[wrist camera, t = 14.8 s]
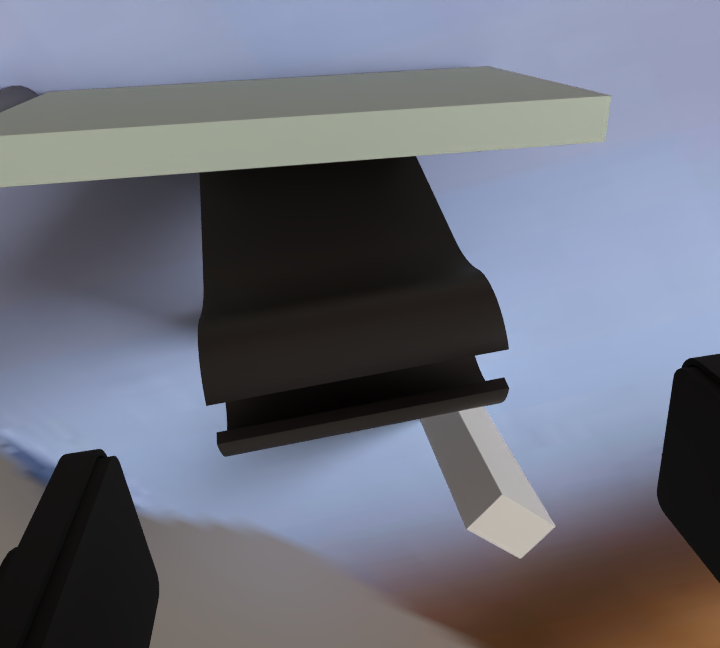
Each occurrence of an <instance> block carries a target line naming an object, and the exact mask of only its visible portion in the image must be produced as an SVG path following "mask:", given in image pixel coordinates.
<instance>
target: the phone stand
mask: <svg viewBox="0 0 720 648" xmlns="http://www.w3.org/2000/svg"><path fill="white" fill-rule="evenodd" d="M200 195H201V224H202V252H203V280H204V298H203V309H202V314H201V317H200V319H199V324H198V351H199V362H200V371H201V378H202V384H203V390H204V396H205V401H206V406H208V405H213V404H219V403H224V402H226V411H227V431H222V432H217V445H218V448H219V450H220V452H221V453H222V455H223V456H225V457H226V456H231V455H237V454H242V453H247V452H252V451H257V450H262V449H267V448H272V447H278V446H283V445H288V444H293V443H298V442H303V441H308V440H313V439H319V438H324V437H329V436H334V435H339V434H344V433H349V432H354V431H360V430H365V429H370V428H375V427H380V426H385V425H390V424H396V423H401V422H406V421H411V420H416V419H421V418H426V417H431V416H437V415H442V414H447V413H452V412H457V411H462V410H467V409H472V408H478V407H483V406H488V405H493V404H498V403H502V402H503V401H504V400H505V399H506V397H507V394H508V391H509V387H508V385H507V383H506V380H505V378H499V379H494V380H489V381H485V379H484V378H483V376H482V374H481V371H480V369H479V367H478V364H477V361H476V358H475V355H480V354H486V353H491V352H496V351H502V350H507V349H509V347H508V340H507V335H506V330H505V325H504V321H503V317H502V314H501V310H500V307H499V304H498V301H497V298H496V296H495V293H494V291H493V289H492V287H491V285H490V283H489V281H488V280H487V278H486V277H485V275H484V274H483V273H482V272H481V271H480V270H478V269H476V268H475V267H474V266H472V265H471V264H470V263H469V262H468V260H467V259H466V258H465V256H464V255H463V254H462V252H461V250H460V249H459V247H458V245H457V243H456V241H455V239H454V237H453V235H452V233H451V230H450V228H449V226H448V224H447V222H446V220H445V218H444V215H443V213H442V211H441V209H440V207H439V205H438V203H437V200H436V198H435V196H434V194H433V192H432V190H431V188H430V185H429V183H428V181H427V179H426V177H425V175H424V173H423V170H422V168H421V166H420V164H419V162H418V160H417V158H416V156H408V157H395V158H382V159H368V160H355V161H342V162H329V163H316V164H302V165H289V166H276V167H263V168H249V169H236V170H223V171H210V172H200Z"/></svg>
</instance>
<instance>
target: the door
mask: <svg viewBox="0 0 720 648" xmlns="http://www.w3.org/2000/svg"><path fill="white" fill-rule="evenodd" d="M610 101H611V95H606V94H602V93H598V92H594V91H590V90H586V89H581V88H577V87H573V86H569V85H565V84H561V83H557V82H552V81H548V80H544V79H540V78H536V77H532V76H527V75H523V74H519V73H515V72H511V71H507V70H502V69H498V68H494V67H490V66H482V67H465V68H448V69H430V70H413V71H396V72H379V73H361V74H344V75H327V76H310V77H292V78H275V79H258V80H241V81H223V82H206V83H189V84H172V85H154V86H137V87H120V88H103V89H85V90H68V91H51V92H47V93H45V94H42V95H40V96H38V95H37V94H36V93H35V92H34V91H32V90H31V89H29V88H26V87H23V86H11V87H8V88H5V89H2V90H0V187H11V186H25V185H38V184H51V183H64V182H77V181H91V180H104V179H117V178H130V177H144V176H157V175H170V174H183V173H197V172H210V171H223V170H236V169H249V168H263V167H276V166H289V165H302V164H316V163H329V162H342V161H355V160H368V159H382V158H395V157H408V156H421V155H435V154H448V153H461V152H474V151H488V150H501V149H514V148H527V147H540V146H554V145H567V144H580V143H593V142H605V138H606V130H607V123H608V116H609V108H610Z"/></svg>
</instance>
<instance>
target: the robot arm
mask: <svg viewBox="0 0 720 648" xmlns="http://www.w3.org/2000/svg"><path fill="white" fill-rule="evenodd" d="M657 497H658V501H659V504H660V507H661V509H662V510H663V512H664V513H665V515H666V516H667V517H668V519H669V520H670V521H671V522H672V524H673V525H674V526H675V527H676V529H677V530H678V531H679V532H680V534H681V535H682V536H683V537H684V539H685V540H686V541H687V542H688V544H689V545H690V546H691V548H692V549H693V550H694V551H695V553H696V554H697V555H698V556H699V558H700V559H701V560H702V561H703V563H704V564H705V565H706V566H707V568H708V569H709V570H710V571H711V573H712V574H713V575H714V577H715V578H716V579H717V580H718V582H719V583H720V354H715V355H709V356H702V357H696V358H689V359H688V360H686V361H685V362H684V363H683V365H682V368H680V369H678V370H677V371H676V372H675V374H674V378H673V385H672V391H671V398H670V405H669V412H668V419H667V425H666V432H665V439H664V446H663V453H662V459H661V466H660V473H659V480H658V486H657ZM158 598H159V581H158V575H157V572H156V569H155V566H154V563H153V560H152V557H151V554H150V551H149V549H148V546H147V542H146V540H145V536H144V533H143V530H142V527H141V524H140V521H139V518H138V515H137V512H136V510H135V507H134V504H133V501H132V498H131V495H130V492H129V489H128V486H127V483H126V480H125V477H124V474H123V471H122V468H121V465H120V462H119V460H118V458H117V457H116V456H110V457H107V455H106V453H105V452H104V451H103V450H101V449H96V450H89V451H83V452H76V453H70V454H65V455H63V456H62V457H61V458H60V460H59V462H58V464H57V466H56V468H55V470H54V472H53V474H52V476H51V478H50V480H49V483H48V485H47V487H46V489H45V491H44V493H43V495H42V497H41V499H40V501H39V504H38V506H37V508H36V510H35V512H34V514H33V516H32V518H31V520H30V522H29V524H28V526H27V528H26V531H25V533H24V535H23V537H22V539H21V541H20V543H19V545H18V547H15V548H14V549H12V550H11V551H9V553H8V554H7V556H6V557H5V559H4V560H3V562H2V564H1V566H0V648H149V645H150V640H151V635H152V630H153V625H154V619H155V614H156V609H157V604H158Z"/></svg>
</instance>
